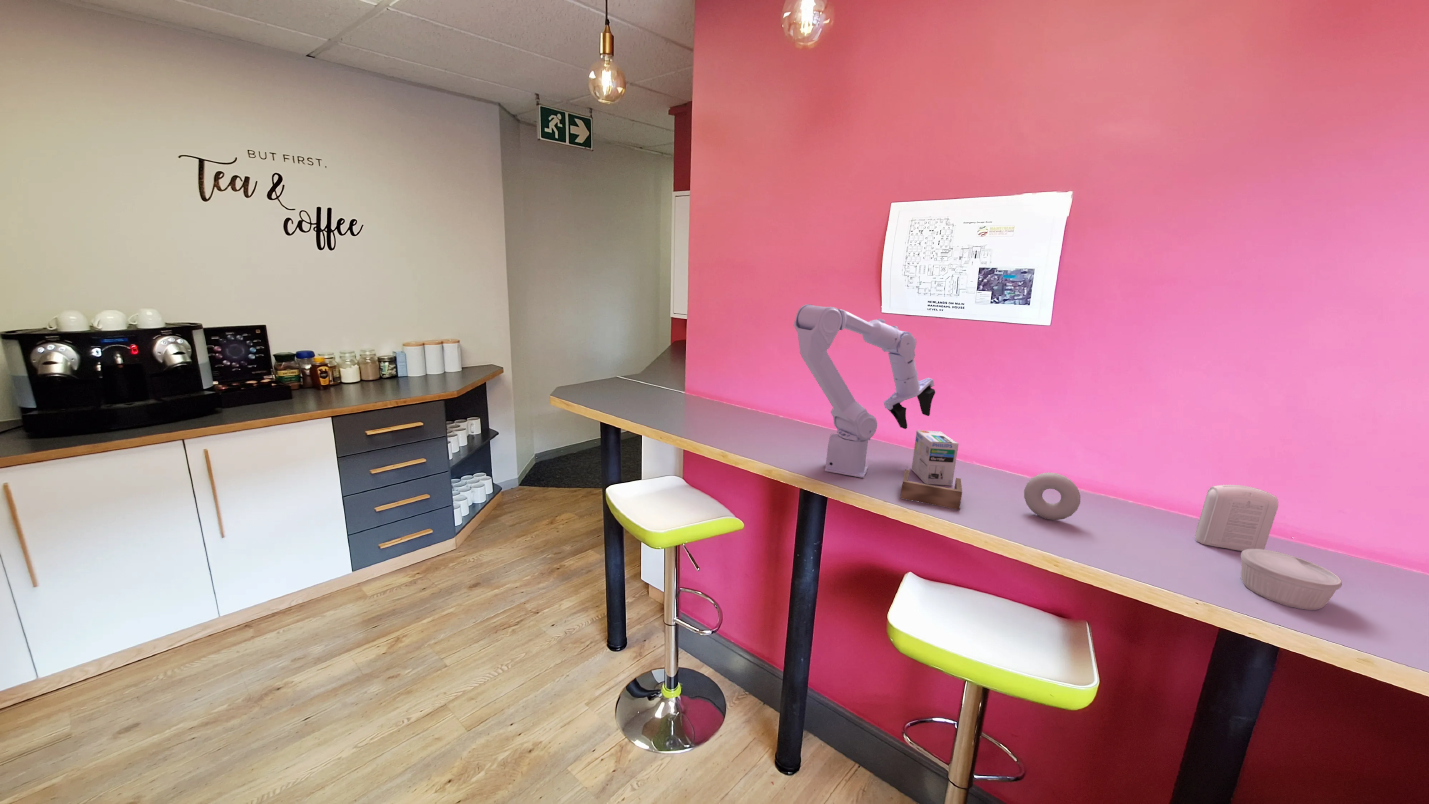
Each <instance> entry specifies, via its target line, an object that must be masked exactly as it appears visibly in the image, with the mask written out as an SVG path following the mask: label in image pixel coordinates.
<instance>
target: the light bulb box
mask: <svg viewBox="0 0 1429 804" xmlns="http://www.w3.org/2000/svg"><path fill="white" fill-rule="evenodd" d="M915 432H916V434H915V440H914V449H913V456H912V462H911V470H910V471H912V472H914V474H915V475H916V476H917V477H918V479H920V480H921V481H922V482H923V484H928V485H935V486H938V485H939V486H940V485H941V486H953V482H954V477H955V470H956V463H957V458H958V457H957V456H958V450H959V445H960V444H959V442H957V441H955V440H954V439H952V438H951V437H949V436H948V435H947V434H945V433H944V432H942V431H940V430H939V431H937V430H936V431H933V430H922V429H916V431H915Z"/></svg>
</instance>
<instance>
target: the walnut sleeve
mask: <svg viewBox="0 0 1429 804" xmlns="http://www.w3.org/2000/svg"><path fill="white" fill-rule="evenodd" d="M910 471H911V470H910V469H904V473H903V477H902V478H903V479H902V482H901V483H902V484H901V491H900V492H901V493H900V497H899V498H900V499H901V500H906V499H907V501H911V500H913V501H912V502H916V501H919V502H918V503H921V502H923V503H922V504H927V505H932V504H933V506H938V507H944V508H948V509H953V510H959V511H960V509H961V508H960V507H961V502H962V495H963V488H962V487H963V485H962V478H959V477H956V478H955V483H954V486H953V487H954V488H950V487H944V486H940V485H939V486H938V485H935V484H925V483H924V482H923V483H921V482H916V481H910V480H909V476H910Z"/></svg>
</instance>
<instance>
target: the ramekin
mask: <svg viewBox="0 0 1429 804" xmlns="http://www.w3.org/2000/svg"><path fill="white" fill-rule="evenodd" d="M1240 559H1241V564H1240V565H1241V569H1240V579H1241V581H1242V582H1243V584H1244V586H1245V587H1246V588H1247V589H1249V590H1250V591H1251V592H1253V593H1254V594H1257V595H1258V596H1261V597H1262V598H1265V599H1267V600H1270V601H1271V602H1275V603H1277V604H1281V605H1284V606H1287V607H1291V608H1294V609H1299V610H1307V611H1311V610H1312V611H1315V610H1319V609H1322V608H1324V607H1326V605H1327V604H1328V603H1329V601H1330V600H1331V598H1333V596H1334V594H1335V593H1336V591H1338V590H1340V588H1341V587H1342V584H1343V581H1342V580H1341V578H1340V577H1339V576H1338V575H1336V574H1335V573H1334V572H1332V571H1331V570H1329V569H1328V568H1325V567H1323V566H1321V565H1319V564H1316V563H1314V562H1312V561H1308V560H1306V559H1303V558H1301V557H1297V556H1294V555H1291V554H1287V553H1284V552H1279V551H1275V550H1270V549H1264V550H1263V549H1246V550H1244V551H1241V553H1240Z"/></svg>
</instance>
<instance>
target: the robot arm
mask: <svg viewBox="0 0 1429 804" xmlns="http://www.w3.org/2000/svg"><path fill="white" fill-rule="evenodd" d="M794 319H795V320H794V322H793V327H794V328H795V331H796V332H797V338H798V345H799V346H798V347H799V348H798V349H799V353H800V356H801V358H802V360H803V361H804V363H805V364H806V366H807V367H808V369H809V370H810V371H809V372H810V373H811V374H812V376H813V377H814V379H815V380H816V383H817V384H818V386H819V387H820V388H821V391H822V392H823V394H824V395H825V397H826V398H827V400H828V403H830V405H831V406H832V409H831V411H830V414H831V417H832V418H833V424H834V427H835V429H837V430H836V433H831V434H830V436H829V438H828V442H827V443H828V444H827V449H826V450H827V451H826V461H825V468H824V471H825V472H827V473H834V474H839V475H845V476H851V477H856V478H861V479H863V478H865V475H866V473H867V471H868V466H866V460H867V451H868V446H869V445H868V444H869V441H870V440H871V439H872V437H873V436H874V435H875V434H876V431H877V428H878V421H877V418H876V417H875V416H874V415H872V414H870V413H869V412H868V410H867V409H866V408H865V407H864V406H863V405H862V404H860V403H859V402H858V401H857V400H856V399H855V397H854V395H853V393H852V392H851V390H850V389H849V387H848V385H847V384H846V382H845V380H844V379H843V376H841V374H840V372H839V370H838V369H837V367H836V365H835V363H834V361H833V360H832V358H831V356H830V355H829V353H828V350H829V349H830V347H831V346H832V343H834V340H835V339H836V337H837V335H838V333H839V331H843V330H844V329H845V330H848V331H850V332H854V333H856V334H859V335H862V336H861V337H862V339H863V341H864V342H865V343H867V344H869V345H872V346H875V347H877V348H880V349H881V350H882V351H883V352H884V353H887V354H888V359H889V362H890V368H891V373H892V376H893V381H894V386H895V392H894V393H893V394H892V395H890V397H889V396H888V398H887V399H886V400H884V401H883V405H884V408H885V409H886V410H888V411H889V412H890V414H892V416H893V418H894V419H895V420H896V423H897V424H898V426H899V428H902V429H904V430H907V429H908V422H907V421H908V420H907V417H906V416H907V407H904V406H903V404H901V403H903V402H904V401H907V400H910V399H913V398H917V400H918V403H919V407H920V411H921V414H922V415H923V416H927V417H929V416H931V406H932V402H933V399H934V396H935V394H936V389H934V388H932V387H934V386H935V382H934V379H933V378H931V377H926V378H924V379H922V380H919V375H918V371H917V370H918V369H917V366H916V365H917V364H916V360H915V356H916V354H915V353H916V352H915V351H916V350H915V349H916V347H917V338H915V336H913V334H912V333H911V332H910V331H904V330H900V329H899V327H898V326H896V325H892V326H891V325H890V324H887V323H885V322H886V320H885V319H883V318H877V319H872V320H869V321H867V320H865V319H863V318H861V317H859V316H857V315H855V314H853V313H851V312H849V311H847V310H844V309H840V308H837V307H836V306H835V307H834V306H821V305H813V304H808V303H807V304H804V305H802V306H801V307H800V308H798V310H797V312H796V315H795V318H794Z"/></svg>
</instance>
